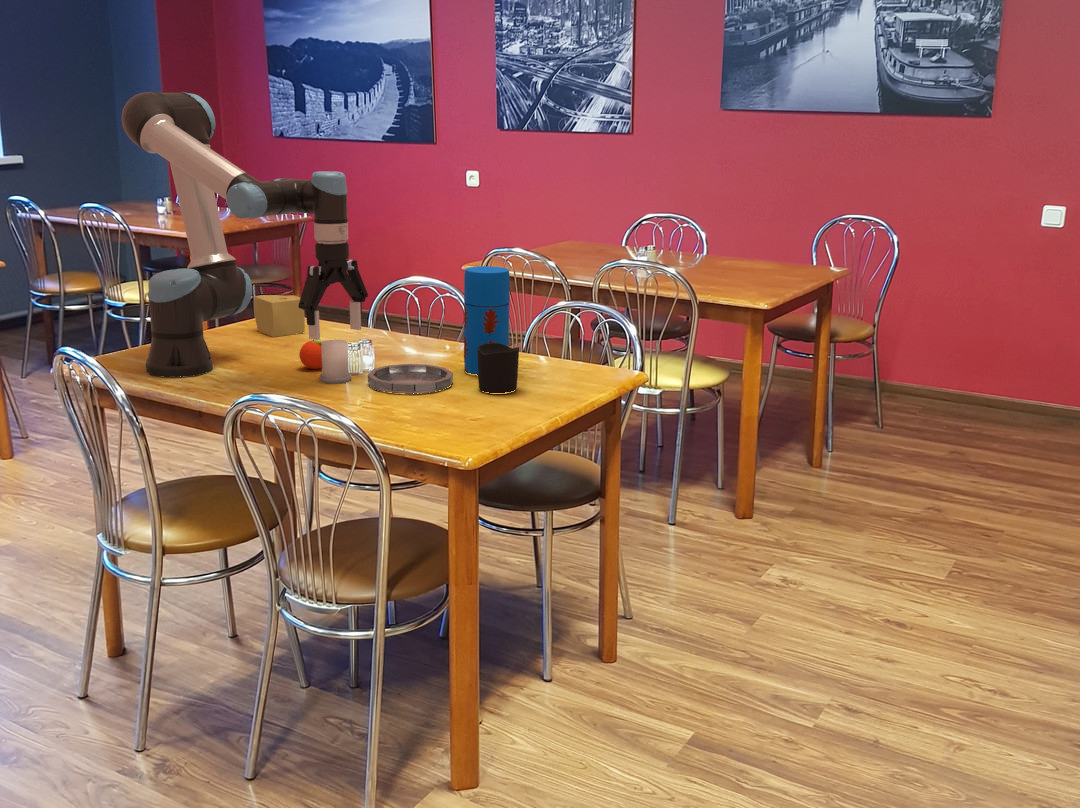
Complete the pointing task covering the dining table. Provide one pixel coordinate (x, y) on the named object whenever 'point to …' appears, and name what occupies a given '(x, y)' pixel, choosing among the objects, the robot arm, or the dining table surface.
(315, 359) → the clementine
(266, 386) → the dining table surface
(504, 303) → the thermos
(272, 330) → the cheese
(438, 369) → the round tray
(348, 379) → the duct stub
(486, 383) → the pen holder
